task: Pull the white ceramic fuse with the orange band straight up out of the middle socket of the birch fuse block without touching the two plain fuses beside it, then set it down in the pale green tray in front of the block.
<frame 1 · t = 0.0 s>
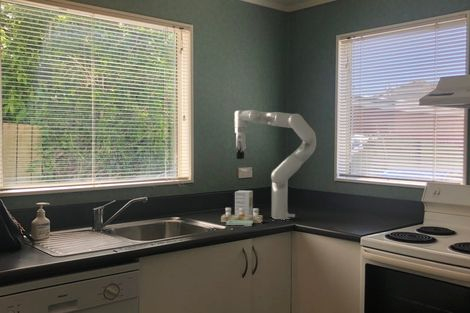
hand: (240, 158, 289), 37 cm above the worktop, tool pointing down, fingers open, 9 cm apart
fuse 2: (255, 222, 274), resting on fuse block
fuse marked: (241, 215, 275), in the fuse block
supplement box: (243, 218, 292), on the worktop
fuse 1: (228, 221, 276), resting on fuse block
tray: (239, 225, 265), on the worktop
fuse block: (241, 222, 275), on the worktop
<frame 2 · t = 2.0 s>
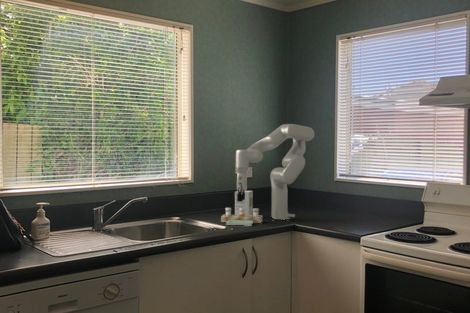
hand: (241, 200, 274), 13 cm above the worktop, tool pointing down, fingers open, 9 cm apart
nothing on the worktop moved.
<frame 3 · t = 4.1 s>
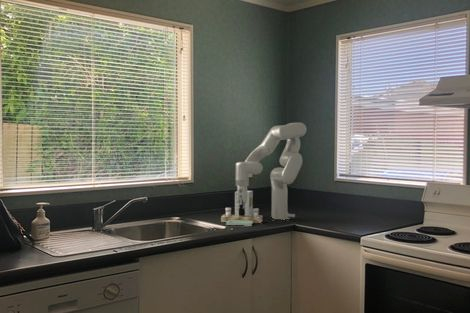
hand: (241, 214, 275), 5 cm above the worktop, tool pointing down, fingers closed on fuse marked, 3 cm apart
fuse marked: (241, 215, 275), in the fuse block, touching gripper
everything else where it was.
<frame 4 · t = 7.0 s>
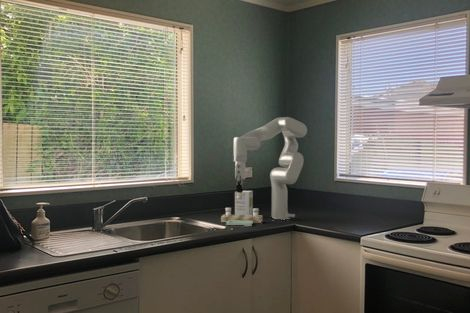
hand: (239, 191, 265), 19 cm above the worktop, tool pointing down, fingers closed on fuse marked, 3 cm apart
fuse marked: (239, 192, 265), point 19 cm above the worktop, touching gripper
everything else where it was.
when the fingers open (6 cm above the worktop, at t = 9.9 s): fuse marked drops 1 cm, resting on tray.
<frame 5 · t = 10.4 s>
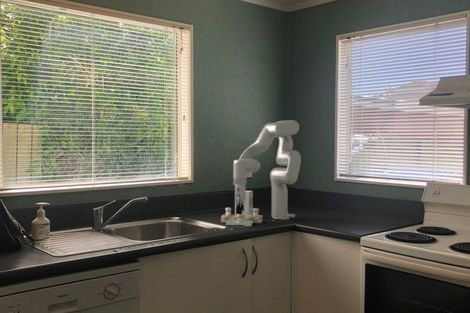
hand: (239, 212, 265), 7 cm above the worktop, tool pointing down, fingers open, 8 cm apart
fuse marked: (239, 217, 265), in the tray, point 5 cm above the worktop
everything else where it was.
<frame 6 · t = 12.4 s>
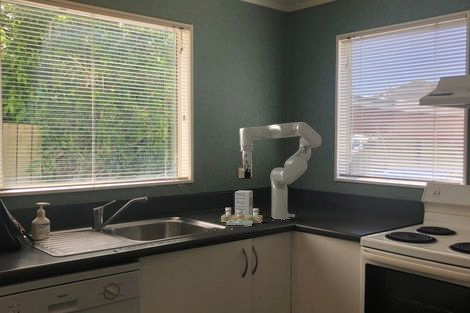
hand: (247, 177, 277), 26 cm above the worktop, tool pointing down, fingers open, 9 cm apart
nothing on the worktop moved.
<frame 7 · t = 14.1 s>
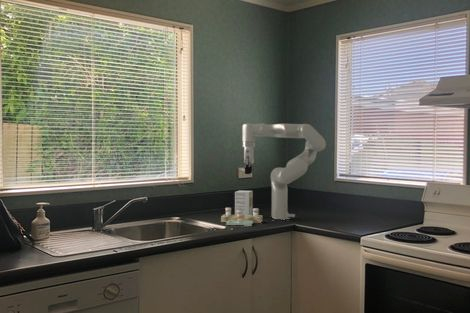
hand: (248, 173, 280), 28 cm above the worktop, tool pointing down, fingers open, 9 cm apart
nothing on the worktop moved.
at the end: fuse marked inside the target area on the tray (0.1 cm from its centre), point 4.6 cm above the tray's base; fuse 2 moved 0.0 cm from its start; fuse 1 moved 0.0 cm from its start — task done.
